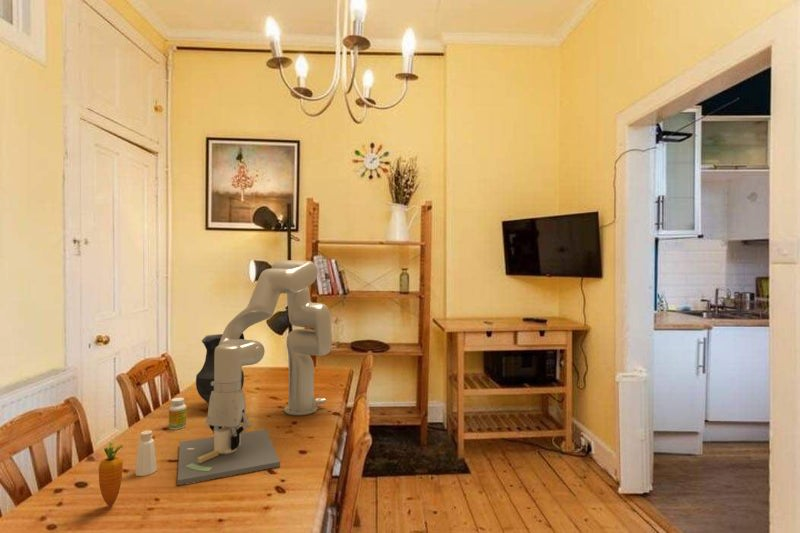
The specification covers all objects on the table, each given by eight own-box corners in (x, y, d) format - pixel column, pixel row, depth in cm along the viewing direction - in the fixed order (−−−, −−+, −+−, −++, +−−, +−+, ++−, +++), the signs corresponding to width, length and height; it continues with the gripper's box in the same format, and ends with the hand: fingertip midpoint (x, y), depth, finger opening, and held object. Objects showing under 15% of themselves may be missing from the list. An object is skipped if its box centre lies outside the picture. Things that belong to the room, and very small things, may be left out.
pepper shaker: (141, 478, 117) (141, 437, 117) (130, 472, 120) (130, 432, 120) (161, 470, 122) (161, 430, 122) (150, 465, 125) (150, 426, 125)
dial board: (265, 433, 148) (265, 428, 148) (280, 466, 125) (280, 461, 125) (179, 446, 137) (179, 441, 137) (177, 486, 114) (177, 479, 114)
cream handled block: (231, 444, 135) (231, 422, 135) (242, 448, 133) (243, 425, 133) (193, 461, 124) (193, 437, 124) (204, 465, 121) (204, 441, 121)
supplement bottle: (179, 430, 150) (179, 402, 150) (165, 429, 151) (165, 401, 151) (189, 424, 155) (189, 397, 155) (176, 423, 156) (176, 396, 156)
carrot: (105, 500, 106) (106, 439, 106) (127, 500, 107) (127, 439, 106) (93, 512, 101) (93, 448, 101) (115, 512, 102) (116, 447, 101)
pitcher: (185, 411, 168) (186, 333, 167) (226, 396, 187) (226, 326, 187) (221, 418, 161) (221, 337, 161) (259, 401, 181) (259, 329, 180)
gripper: (194, 388, 128) (193, 450, 128) (247, 391, 125) (246, 455, 126) (209, 381, 136) (208, 439, 136) (260, 384, 133) (259, 444, 133)
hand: (227, 446), depth 131 cm, fingers closed on cream handled block, 4 cm apart
